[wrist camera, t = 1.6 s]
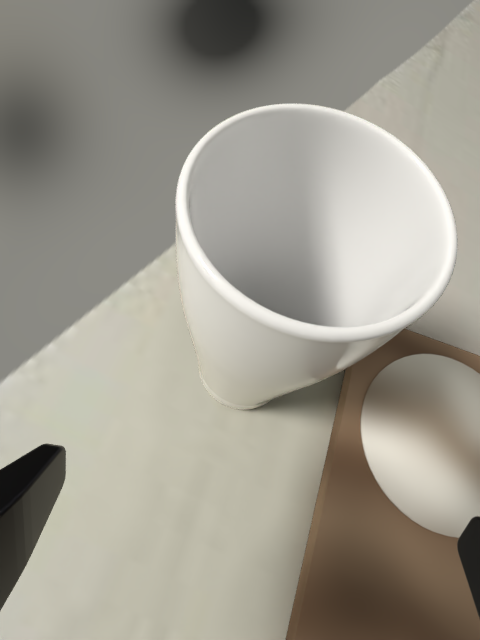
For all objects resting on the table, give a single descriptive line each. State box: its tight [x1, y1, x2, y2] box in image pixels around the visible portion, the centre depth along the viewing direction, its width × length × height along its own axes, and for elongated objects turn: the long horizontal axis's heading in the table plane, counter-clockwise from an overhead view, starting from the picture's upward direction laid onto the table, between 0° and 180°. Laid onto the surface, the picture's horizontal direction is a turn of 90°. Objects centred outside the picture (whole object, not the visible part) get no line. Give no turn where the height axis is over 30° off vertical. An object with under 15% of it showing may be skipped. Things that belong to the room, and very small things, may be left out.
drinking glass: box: [175, 104, 458, 410], centre depth 15 cm, size 7×7×15 cm
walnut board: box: [286, 329, 480, 640], centre depth 19 cm, size 20×12×1 cm, turn 161°
